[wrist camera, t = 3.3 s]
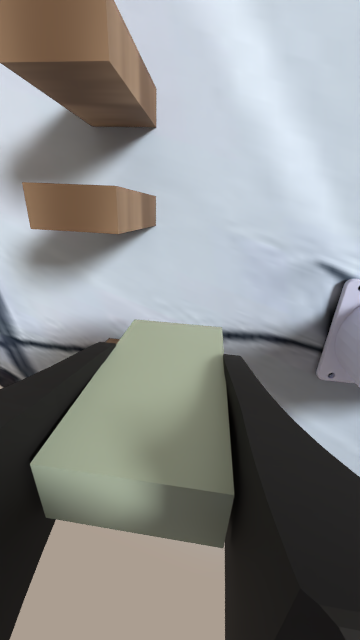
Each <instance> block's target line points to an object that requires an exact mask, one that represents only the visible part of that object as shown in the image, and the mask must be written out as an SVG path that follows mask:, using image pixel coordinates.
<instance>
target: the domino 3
mask: <svg viewBox="0 0 360 640" xmlns="http://www.w3.org/2000/svg"><path fill="white" fill-rule="evenodd" d="M223 354H224V349H223V336H222V327H211V326H200V325H189V324H178V323H167V322H156V321H145V320H134V321H133V322H132V324H131V325H130V326H129V328H128V329H127V331H126V332H125V333H124V335H123V336H122V337H121V339H120V340H119V342H118V343H117V344H116V347H115V348H114V349H113V351H112V352H111V354H110V355H109V356H108V358H107V359H106V361H105V362H104V363H103V364H102V365H101V366H100V368H99V369H98V371H97V372H96V373H95V375H94V376H93V377H92V379H91V380H90V382H89V383H88V384H87V386H86V387H85V388H84V390H83V391H82V393H81V394H80V395H79V397H78V398H77V400H76V401H75V402H74V404H73V405H72V406H71V408H70V409H69V411H68V412H67V413H66V415H65V416H64V417H63V419H62V420H61V422H60V423H59V424H58V426H57V427H56V429H55V430H54V431H53V433H52V434H51V435H50V437H49V438H48V440H47V441H46V442H45V444H44V445H43V446H42V448H41V449H40V451H39V452H38V453H37V455H36V456H35V457H34V459H33V460H32V462H31V463H30V466H31V469H32V473H33V476H34V479H35V483H36V486H37V490H38V493H39V496H40V500H41V503H42V506H43V510H44V513H45V516H46V518H51V519H58V520H63V521H70V522H75V523H80V524H86V525H92V526H98V527H104V528H109V529H115V530H121V531H126V532H132V533H138V534H144V535H150V536H156V537H161V538H167V539H173V540H179V541H184V542H191V543H196V544H201V545H208V546H213V547H219V548H223V547H224V542H225V537H226V533H227V528H228V523H229V518H230V514H231V509H232V504H233V499H234V483H233V470H232V456H231V443H230V429H229V416H228V403H227V389H226V380H225V375H224V365H223Z"/></svg>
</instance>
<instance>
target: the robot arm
mask: <svg viewBox="0 0 360 640" xmlns="http://www.w3.org/2000/svg"><path fill="white" fill-rule="evenodd" d="M359 286H360V279H350V280H348V281H346V282H345V284H344V286H343V289H342V293H341V296H340V299H339V302H338V305H337V308H336V311H335V314H334V318H333V321H332V324H331V327H330V330H329V333H328V336H327V340H326V343H325V346H324V349H323V352H322V355H321V358H320V361H319V365H318V368H317V371H316V374H317V376H318V378H319V379H321V380H328V381H337V382H346V383H355V384H357V385H358V387H359V388H360V290H358V287H359ZM115 347H116V343H107V342H99V343H97V344H94V345H92V346H90V347H88V348H86V349H84V350H82V351H80V352H78V353H76V354H74V355H72V356H71V357H69V358H67V359H65V360H63V361H61V362H59V363H57V364H55V365H53V366H51V367H49V368H47V369H45V370H42V371H40V372H38V373H36V374H34V375H32V376H30V377H28V378H25V379H23V380H21V381H19V382H17V383H14V384H12V385H9V386H7V387H5V388H2V389H0V640H9V639H10V637H11V634H12V631H13V628H14V626H15V623H16V620H17V617H18V615H19V612H20V609H21V606H22V604H23V601H24V598H25V596H26V593H27V591H28V588H29V585H30V583H31V580H32V578H33V575H34V573H35V570H36V567H37V565H38V562H39V560H40V557H41V554H42V552H43V549H44V547H45V544H46V542H47V540H48V537H49V535H50V532H51V530H52V527H53V525H54V522H55V520H56V519H51V518H46V516H45V513H44V510H43V506H42V503H41V500H40V496H39V493H38V490H37V486H36V483H35V479H34V476H33V473H32V469H31V466H30V463H31V462H32V460H33V459H34V457H35V456H36V455H37V453H38V452H39V451H40V449H41V448H42V446H43V445H44V444H45V442H46V441H47V440H48V438H49V437H50V435H51V434H52V433H53V431H54V430H55V429H56V427H57V426H58V424H59V423H60V422H61V420H62V419H63V417H64V416H65V415H66V413H67V412H68V411H69V409H70V408H71V406H72V405H73V404H74V402H75V401H76V400H77V398H78V397H79V395H80V394H81V393H82V391H83V390H84V388H85V387H86V386H87V384H88V383H89V382H90V380H91V379H92V377H93V376H94V375H95V373H96V372H97V371H98V369H99V368H100V366H101V365H102V364H103V363H104V362H105V361H106V359H107V358H108V356H109V355H110V354H111V352H112V351H113V349H114V348H115ZM223 365H224V375H225V380H226V389H227V403H228V416H229V429H230V443H231V456H232V470H233V483H234V499H233V504H232V509H231V514H230V518H229V523H228V528H227V533H226V537H225V640H360V477H359V476H357V475H356V474H355V473H354V472H352V471H351V470H350V469H349V468H348V467H346V466H345V465H344V464H343V463H341V462H340V461H339V460H338V459H336V458H335V457H334V456H333V455H331V454H330V453H329V452H328V451H327V450H326V449H324V448H323V447H322V446H321V445H320V444H319V443H317V442H316V441H315V440H314V439H313V438H312V437H311V436H310V435H309V434H308V433H307V432H306V431H304V430H303V429H302V428H301V427H300V426H299V425H298V424H297V423H296V422H295V421H294V420H293V419H292V418H291V417H290V416H289V415H288V414H287V413H286V412H285V411H284V410H283V409H282V408H281V406H280V405H279V404H278V403H277V402H276V401H275V400H274V399H273V398H272V396H271V395H270V394H269V393H268V392H267V390H266V389H265V388H264V387H263V385H262V384H261V383H260V382H259V380H258V379H257V378H256V376H255V375H254V374H253V372H252V371H251V370H250V368H249V367H248V366H247V364H246V363H245V361H244V360H243V359H242V357H241V356H236V355H226V354H223ZM330 373H333V374H332V375H329V376H328V374H330Z"/></svg>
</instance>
